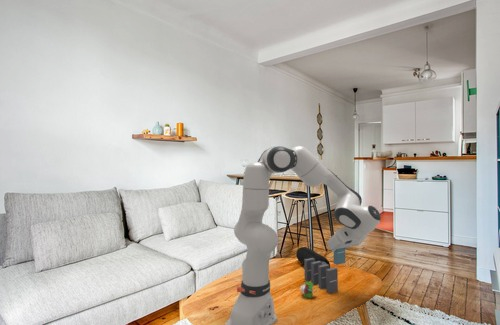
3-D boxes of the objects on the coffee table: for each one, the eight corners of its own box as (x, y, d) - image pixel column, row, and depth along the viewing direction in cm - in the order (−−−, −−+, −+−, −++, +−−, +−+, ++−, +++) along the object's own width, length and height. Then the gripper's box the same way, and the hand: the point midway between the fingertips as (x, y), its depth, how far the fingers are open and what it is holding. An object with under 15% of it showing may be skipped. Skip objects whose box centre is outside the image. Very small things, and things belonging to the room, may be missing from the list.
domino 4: (337, 291, 138) (337, 268, 138) (329, 293, 135) (328, 270, 135) (334, 289, 140) (334, 267, 140) (326, 292, 137) (325, 269, 137)
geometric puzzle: (307, 285, 140) (302, 276, 136) (320, 289, 135) (315, 279, 131) (301, 299, 135) (296, 289, 132) (314, 303, 131) (309, 293, 127)
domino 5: (345, 262, 136) (345, 240, 136) (336, 264, 134) (336, 241, 134) (342, 261, 138) (341, 239, 138) (333, 263, 136) (333, 240, 136)
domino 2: (322, 282, 148) (321, 261, 148) (314, 285, 145) (313, 263, 145) (319, 281, 149) (319, 260, 150) (311, 283, 147) (310, 262, 147)
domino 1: (315, 279, 153) (314, 258, 153) (307, 281, 150) (306, 260, 150) (312, 277, 154) (312, 257, 154) (304, 280, 152) (304, 259, 152)
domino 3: (329, 286, 143) (329, 265, 143) (321, 289, 140) (320, 267, 140) (327, 285, 145) (326, 263, 145) (318, 287, 142) (318, 265, 142)
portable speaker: (295, 262, 179) (294, 246, 179) (309, 260, 182) (308, 244, 182) (316, 277, 155) (315, 259, 155) (332, 275, 158) (331, 257, 158)
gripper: (365, 225, 135) (349, 240, 143) (334, 230, 125) (319, 246, 134) (373, 236, 131) (357, 252, 139) (341, 242, 121) (326, 258, 130)
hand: (338, 249), depth 137 cm, fingers closed on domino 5, 6 cm apart
